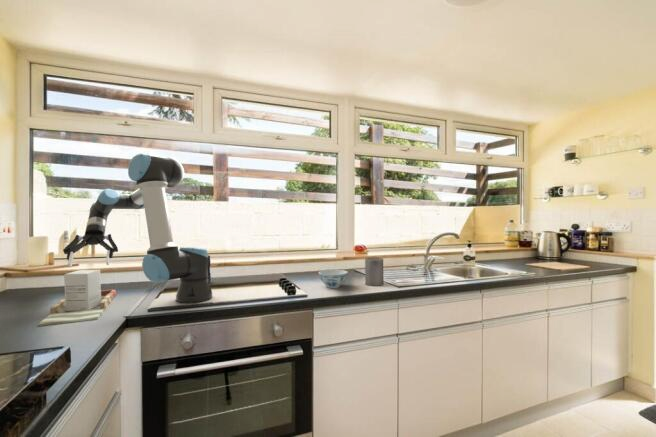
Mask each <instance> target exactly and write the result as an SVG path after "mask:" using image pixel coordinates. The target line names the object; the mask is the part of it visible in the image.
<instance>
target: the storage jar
mask: <svg viewBox="0 0 656 437" xmlns="http://www.w3.org/2000/svg"><path fill="white" fill-rule="evenodd" d="M207 255H208V254H207ZM211 275H212V274H211V255H210V254H209V255H208V282H209V285H210V284H211V277H212V276H211Z"/></svg>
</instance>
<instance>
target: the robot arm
mask: <svg viewBox="0 0 656 437" xmlns="http://www.w3.org/2000/svg"><path fill="white" fill-rule="evenodd" d="M127 171H128V172H127V173H128V178H130V180H131V181H133V182H135V183H136V188H137V189H136V190H135V191H133V192H132V193H130V194H128V193H127V194H126V193H124V194H123V193H119V192H117V191H116V190H115V189H112V188H105V189H103V190H102V191H101V192H100V193H99V195H98V196H97V199H96V201H95V202H94V203H92V204H91V206H90V209H89V214H88V219H87V223H86V228H85V231H84V235H83V236H82V235H81V236H80V235H79V234H76V235H75V237H74V238H73V239H72V241H71V242H69V243H68V244H67V245H66V246H65V247H64V248H63V249H62V251H63V253H64V255H66V260H67V261H68V262H67V266H68V267H69V268H72V266H73V261H74V258H75V254H76V253H77V252H78V251H80V250H81V249H83V248H85V247H87V246H92V245H94V246H97V245H100V247H101V246H102V247H103V248H104V249H105V250H107V253H106V259H105V264H106V266H109V265H110V259H113V256H114V253H117V252H119V249H118V246H117V244H116V243H115V241H114V239H113V237H112V234H111V233H109V234H107V235H105V233H106V227H107V221H108V217H109V214H110V213H111V212H112V211H113V210H144V214H145V221H146V227H147V233H148V234H147V235H148V239H149V248H148V249H147V250H146V254H145V255H144V257H143V258H142V262H141V268H142V271H143V274H144V276H145V277H146V279H147V280H149V281H150V282H152V283H165V282H168V281H173V280H174V281H175V280H178V279H179V285H178V288H177V292H176V295H175V301H176V302H178V303H183V304H184V303H185V304H187V303H188V304H190V303H199V302H204V301H207V300H210V299H212V298H213V290H212V288H211V285H210V284H209V282H208V250H207V249H206V248H203V247H191V246H190V247H188V246H187V247H185V246H182V247H178V245H177V244H175V243H174V240H173V233H172V228H171V226H172V225H171V221H170V215H169V210H168V209H169V208H168V203H167V197H166V190H167V189H169V188H174V187H176V186H178V185H179V184H180V183H182V181H183V179H184V177H185V169H184V167H183V165H182V163H181V162H180V161H178V160H177V158H174V157H169V156H163V155H162V156H161V155H156V154H150V153H136V154H134V156H132V157H131V159H130V162H129V164H128V170H127ZM105 239H106V240H107V241H108V242H109V244H110V245H111V246H110V245H109V244H108V243H106V241H104V240H105Z"/></svg>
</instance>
